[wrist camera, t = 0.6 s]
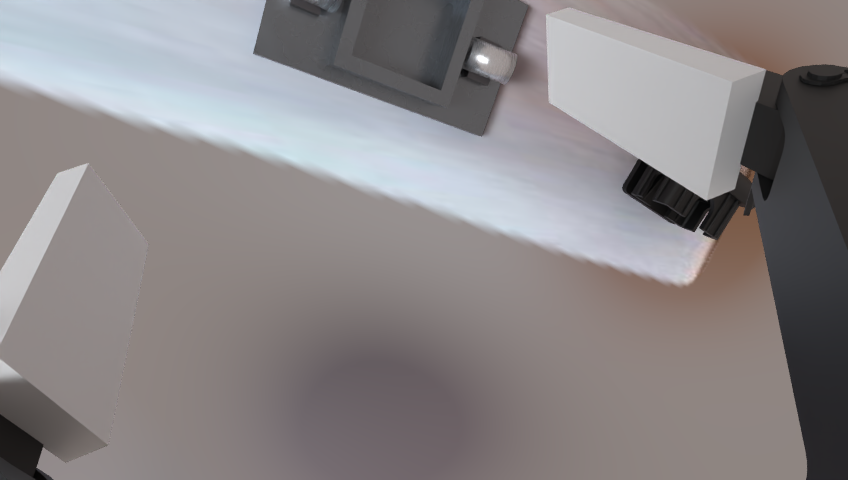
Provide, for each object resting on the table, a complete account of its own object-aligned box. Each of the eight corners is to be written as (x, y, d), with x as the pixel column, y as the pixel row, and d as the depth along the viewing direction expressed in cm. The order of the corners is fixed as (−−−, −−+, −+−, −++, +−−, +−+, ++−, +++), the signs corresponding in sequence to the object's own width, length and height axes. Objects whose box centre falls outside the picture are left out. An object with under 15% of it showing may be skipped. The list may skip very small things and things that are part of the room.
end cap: (708, 169, 52) (768, 181, 46) (674, 225, 53) (728, 245, 47) (653, 125, 48) (712, 132, 42) (616, 187, 49) (668, 203, 43)
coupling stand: (253, 53, 34) (254, 51, 30) (294, -112, 32) (300, -137, 28) (476, 135, 42) (500, 141, 38) (522, 7, 40) (551, -1, 36)
